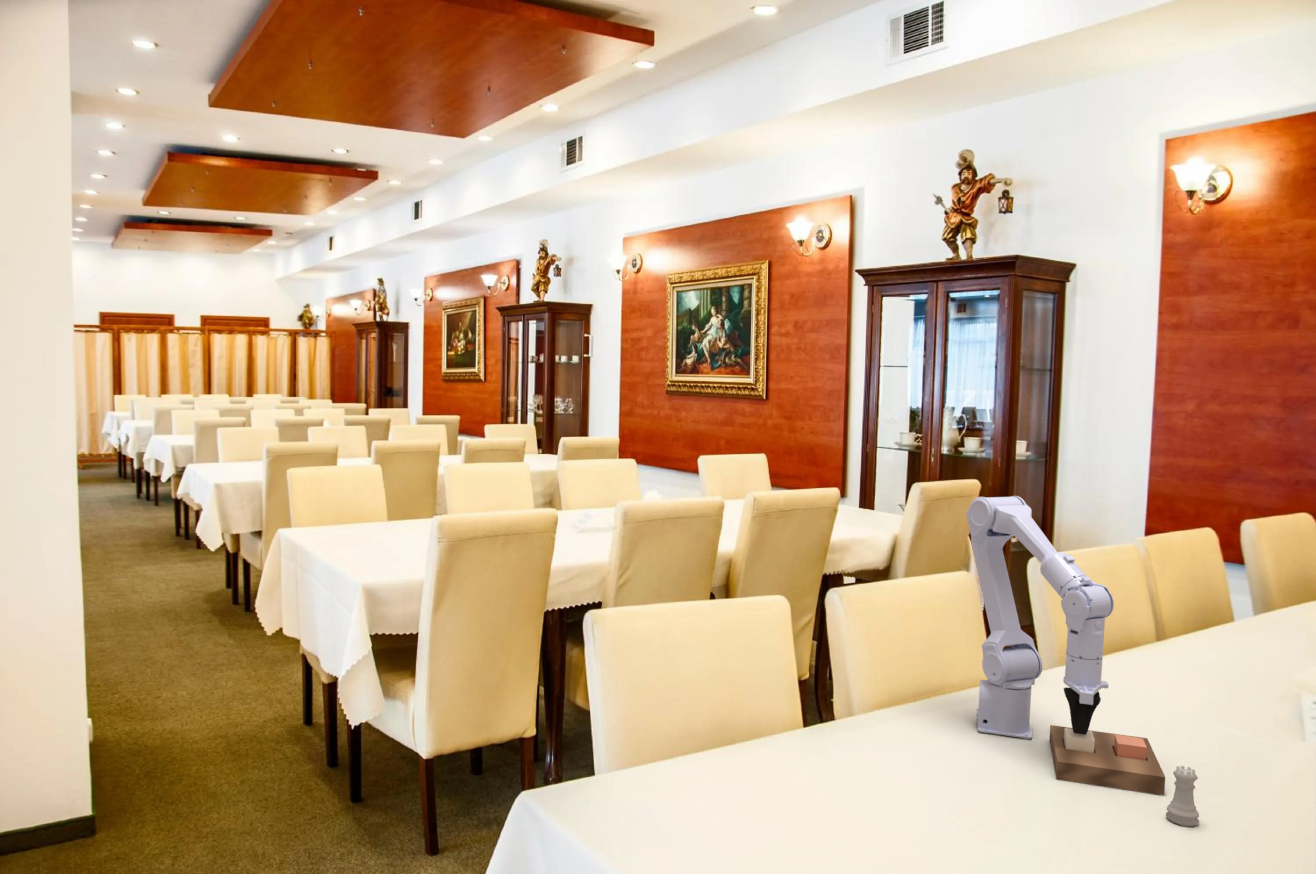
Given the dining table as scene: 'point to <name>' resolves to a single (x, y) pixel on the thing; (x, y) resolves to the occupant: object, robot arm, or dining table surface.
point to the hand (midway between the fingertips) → (1079, 732)
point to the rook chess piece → (1183, 799)
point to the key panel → (1106, 764)
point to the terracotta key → (1130, 747)
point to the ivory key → (1078, 741)
